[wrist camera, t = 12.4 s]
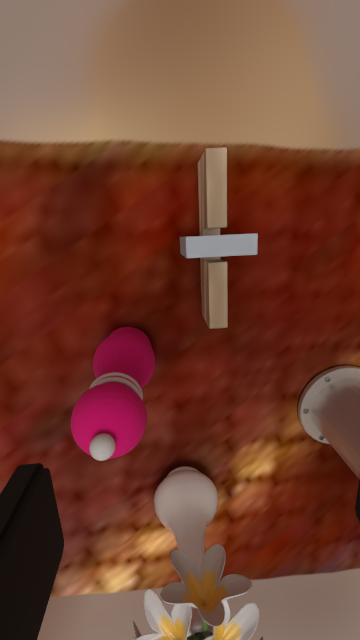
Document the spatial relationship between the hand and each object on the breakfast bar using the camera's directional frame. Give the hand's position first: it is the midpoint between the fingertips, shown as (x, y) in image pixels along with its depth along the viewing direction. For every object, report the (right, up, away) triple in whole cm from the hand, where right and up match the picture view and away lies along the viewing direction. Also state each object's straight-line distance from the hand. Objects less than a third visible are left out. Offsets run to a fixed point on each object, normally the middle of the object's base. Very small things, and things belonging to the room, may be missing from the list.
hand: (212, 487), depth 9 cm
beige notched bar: (+3, +14, +28) cm, 31 cm away
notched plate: (+3, +14, +28) cm, 31 cm away
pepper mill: (-8, +1, +31) cm, 32 cm away
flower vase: (-1, -20, +37) cm, 42 cm away
